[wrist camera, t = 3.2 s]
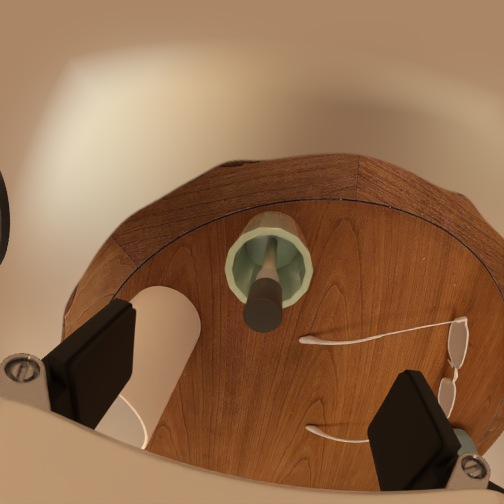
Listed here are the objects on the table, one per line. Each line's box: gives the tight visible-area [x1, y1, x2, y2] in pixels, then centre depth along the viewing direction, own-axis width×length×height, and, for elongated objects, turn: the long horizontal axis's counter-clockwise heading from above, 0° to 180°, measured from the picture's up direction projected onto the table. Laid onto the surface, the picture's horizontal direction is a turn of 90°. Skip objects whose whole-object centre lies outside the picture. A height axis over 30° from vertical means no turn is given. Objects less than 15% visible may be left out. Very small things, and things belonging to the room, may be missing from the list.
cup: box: [95, 286, 201, 450], centre depth 26 cm, size 8×8×16 cm
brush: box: [244, 238, 282, 333], centre depth 22 cm, size 2×2×15 cm
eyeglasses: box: [299, 316, 468, 442], centre depth 31 cm, size 15×18×4 cm
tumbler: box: [225, 211, 313, 309], centre depth 26 cm, size 6×6×9 cm
